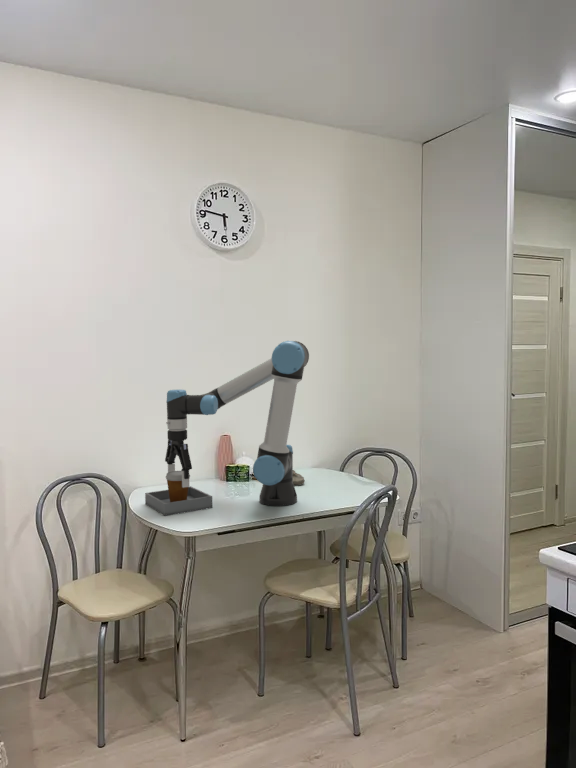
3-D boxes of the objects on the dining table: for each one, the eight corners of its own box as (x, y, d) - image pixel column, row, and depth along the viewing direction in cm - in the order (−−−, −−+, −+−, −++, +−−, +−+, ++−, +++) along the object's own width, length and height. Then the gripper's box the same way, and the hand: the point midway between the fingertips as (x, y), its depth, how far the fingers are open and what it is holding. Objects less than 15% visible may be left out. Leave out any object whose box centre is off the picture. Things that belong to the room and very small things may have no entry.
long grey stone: (260, 475, 301) (244, 479, 295) (259, 464, 301) (243, 468, 294) (310, 483, 276) (295, 487, 269) (310, 471, 276) (294, 476, 269)
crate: (212, 507, 237) (212, 496, 237) (164, 515, 226) (164, 503, 226) (191, 497, 253) (190, 486, 253) (145, 504, 242) (145, 492, 242)
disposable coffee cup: (170, 507, 233) (169, 476, 232) (162, 502, 242) (162, 472, 241) (194, 504, 238) (193, 474, 237) (186, 499, 246) (185, 469, 245)
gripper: (156, 426, 246) (157, 479, 247) (181, 434, 225) (182, 491, 227) (173, 425, 250) (174, 476, 252) (200, 432, 229) (201, 488, 231)
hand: (178, 483), depth 239 cm, fingers open, 13 cm apart
